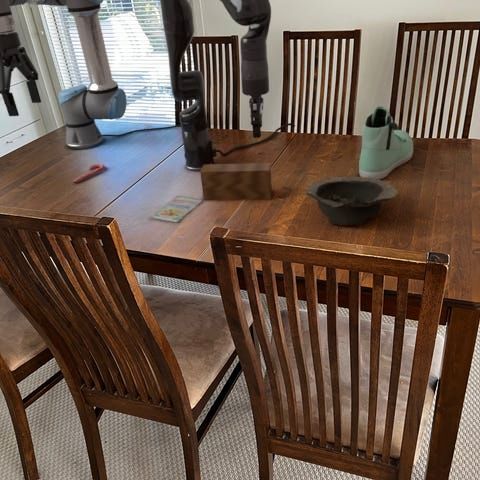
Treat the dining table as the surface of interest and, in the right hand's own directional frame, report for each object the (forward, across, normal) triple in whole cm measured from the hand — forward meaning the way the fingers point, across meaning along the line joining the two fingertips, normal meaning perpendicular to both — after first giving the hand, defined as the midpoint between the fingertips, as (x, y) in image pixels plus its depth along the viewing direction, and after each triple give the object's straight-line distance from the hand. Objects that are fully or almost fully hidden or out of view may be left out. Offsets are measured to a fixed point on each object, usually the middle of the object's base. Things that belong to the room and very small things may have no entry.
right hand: (257, 132), depth 140 cm
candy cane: (+21, +19, +63) cm, 69 cm away
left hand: (-9, +2, +70) cm, 70 cm away
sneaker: (+21, +23, -42) cm, 52 cm away
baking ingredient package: (+20, -9, +25) cm, 33 cm away
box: (+20, -1, +7) cm, 22 cm away
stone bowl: (+20, -13, -26) cm, 35 cm away
